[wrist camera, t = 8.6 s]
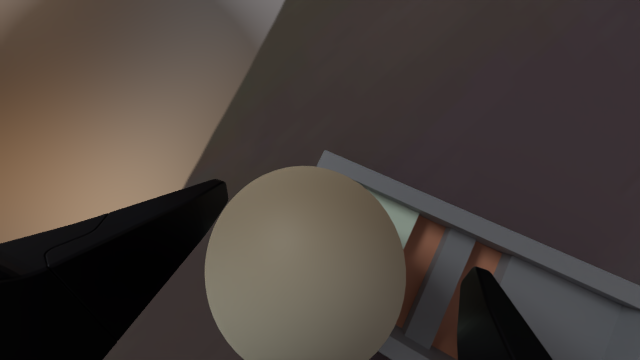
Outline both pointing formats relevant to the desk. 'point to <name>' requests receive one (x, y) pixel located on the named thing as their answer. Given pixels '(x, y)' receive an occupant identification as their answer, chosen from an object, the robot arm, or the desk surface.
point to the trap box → (508, 269)
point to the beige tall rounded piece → (305, 268)
